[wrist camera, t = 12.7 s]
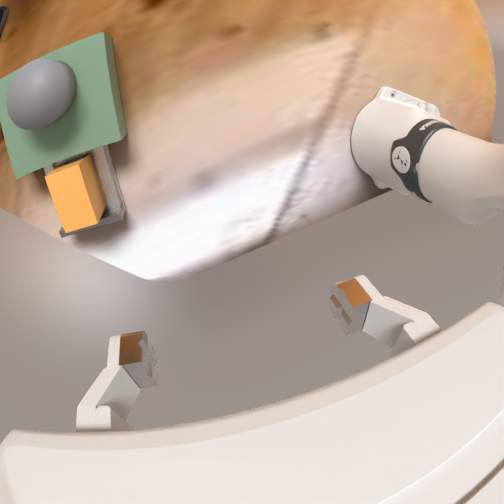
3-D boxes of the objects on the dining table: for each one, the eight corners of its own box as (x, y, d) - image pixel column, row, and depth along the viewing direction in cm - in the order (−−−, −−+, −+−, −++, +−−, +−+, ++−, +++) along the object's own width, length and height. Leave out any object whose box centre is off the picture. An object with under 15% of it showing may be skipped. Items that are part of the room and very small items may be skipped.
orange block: (91, 152, 32) (78, 164, 27) (106, 204, 37) (98, 223, 32) (60, 163, 31) (44, 177, 26) (77, 213, 36) (65, 233, 31)
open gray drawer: (107, 138, 32) (100, 144, 29) (125, 208, 39) (122, 220, 36) (46, 160, 31) (36, 168, 28) (68, 225, 37) (61, 237, 34)
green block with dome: (112, 37, 25) (95, 25, 18) (127, 133, 33) (115, 148, 26) (11, 81, 22) (-23, 86, 15) (31, 168, 30) (2, 191, 23)
